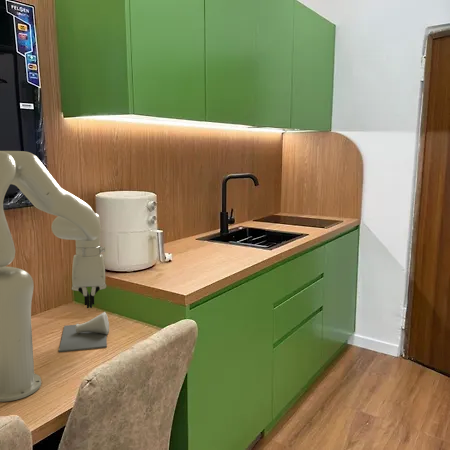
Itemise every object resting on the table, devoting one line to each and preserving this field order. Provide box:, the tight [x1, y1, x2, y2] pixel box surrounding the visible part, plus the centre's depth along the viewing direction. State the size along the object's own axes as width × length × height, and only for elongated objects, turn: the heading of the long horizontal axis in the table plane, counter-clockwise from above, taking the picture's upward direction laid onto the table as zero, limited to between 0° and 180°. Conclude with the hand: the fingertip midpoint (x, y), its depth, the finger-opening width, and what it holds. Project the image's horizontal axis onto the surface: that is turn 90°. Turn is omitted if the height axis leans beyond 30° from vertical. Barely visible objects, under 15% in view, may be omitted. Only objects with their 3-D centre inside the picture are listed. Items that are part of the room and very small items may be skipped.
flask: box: [75, 311, 110, 335], centre depth 142 cm, size 7×7×10 cm
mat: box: [58, 324, 108, 353], centre depth 141 cm, size 14×20×1 cm
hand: (89, 306), depth 139 cm, fingers closed
